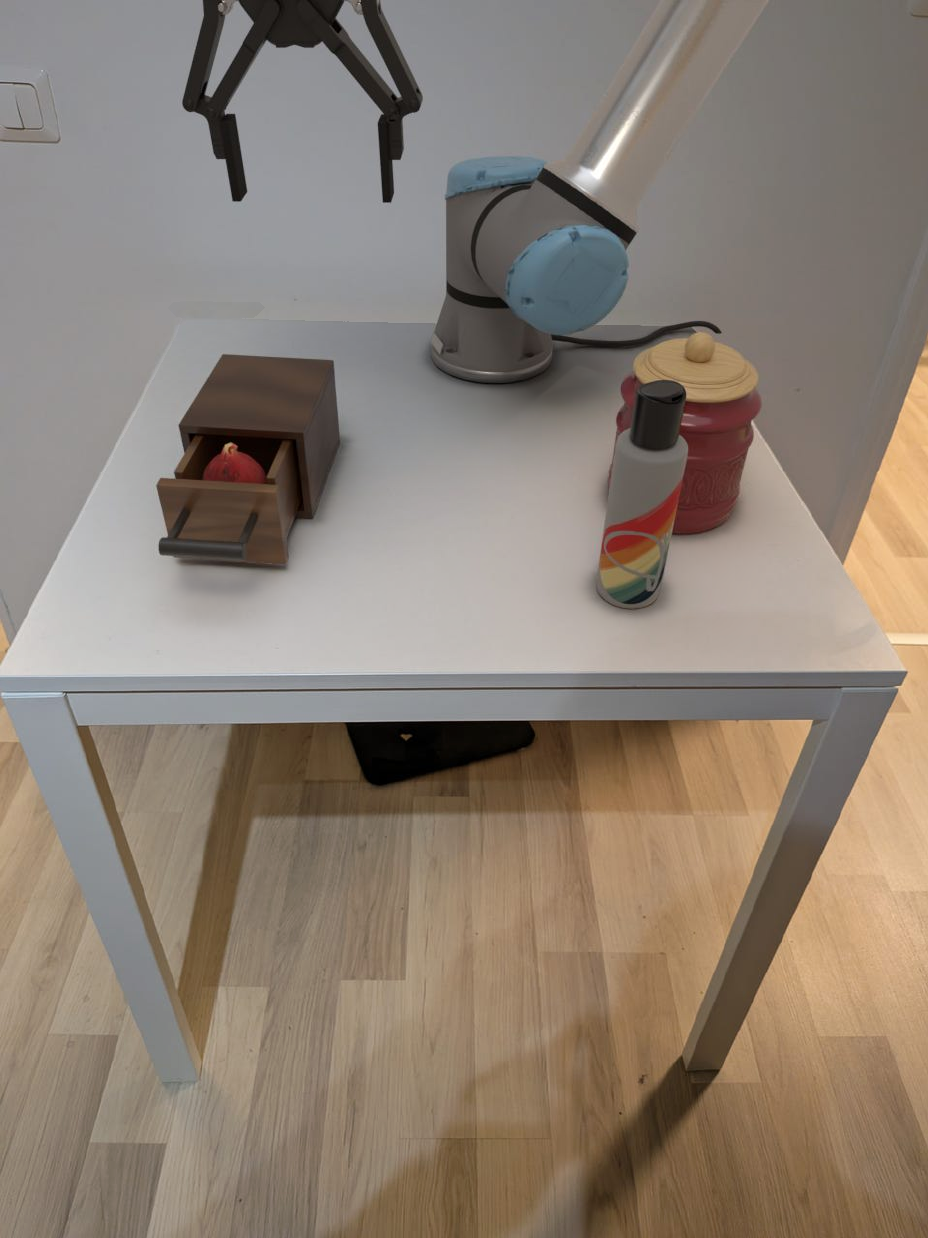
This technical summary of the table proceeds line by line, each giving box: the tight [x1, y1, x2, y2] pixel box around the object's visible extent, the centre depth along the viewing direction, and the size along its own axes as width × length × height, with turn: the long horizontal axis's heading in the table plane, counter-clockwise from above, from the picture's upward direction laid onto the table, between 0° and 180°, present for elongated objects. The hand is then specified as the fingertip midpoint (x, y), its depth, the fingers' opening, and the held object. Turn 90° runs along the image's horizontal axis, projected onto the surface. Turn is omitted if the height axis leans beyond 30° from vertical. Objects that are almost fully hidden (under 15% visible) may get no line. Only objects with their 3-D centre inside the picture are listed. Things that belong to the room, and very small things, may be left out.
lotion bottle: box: [596, 380, 688, 610], centre depth 77 cm, size 6×6×20 cm
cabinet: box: [178, 353, 341, 520], centre depth 93 cm, size 15×12×10 cm
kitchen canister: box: [607, 331, 763, 534], centre depth 88 cm, size 13×13×18 cm
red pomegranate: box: [203, 442, 267, 484], centre depth 84 cm, size 6×6×8 cm
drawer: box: [155, 434, 303, 566], centre depth 84 cm, size 19×10×8 cm, turn 175°
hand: (314, 197), depth 84 cm, fingers open, 13 cm apart
